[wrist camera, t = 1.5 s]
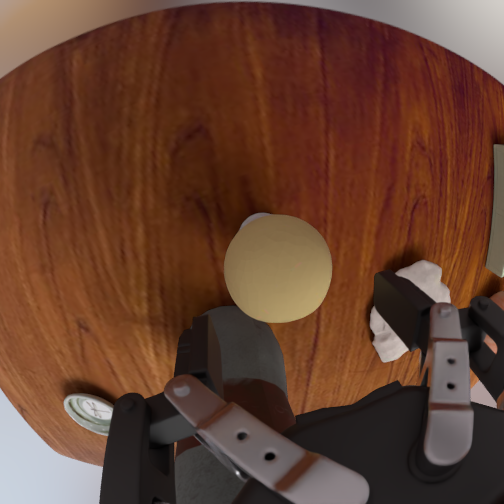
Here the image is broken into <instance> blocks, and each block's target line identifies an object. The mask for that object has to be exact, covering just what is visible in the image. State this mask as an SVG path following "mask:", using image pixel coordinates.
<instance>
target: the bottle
mask: <svg viewBox="0 0 504 504" xmlns="http://www.w3.org/2000/svg"><path fill="white" fill-rule="evenodd" d="M207 314H209V315H210V317H211V319H212V322H213V325H214V328H215V331H216V334H217V337H218V340H219V343H220V348H221V361H222V379H223V395H224V401H225V402H226V403H228V404H229V403H230V402H234V403H236V404H238V405H239V406H240V407H242V408H243V409H244V410H246V411H247V412H249V413H250V414H251V415H253V416H254V417H256V418H257V419H259V420H260V421H261V422H263V423H264V424H266V425H267V426H269V427H270V428H272V429H273V430H275V431H276V432H278V433H282V432H283V431H284V430H285V429H287V428H289V427H290V426H292V425H294V424H296V420H295V417H294V415H293V412H292V410H291V407H290V404H289V402H288V395H287V383H286V374H285V366H284V359H283V354H282V351H281V349H280V346H279V344H278V342H277V340H276V338H275V336H274V334H273V332H272V330H271V328H270V327H269V326H268V325H267V324H266V323H265V322H263V321H260V320H256V319H254V318H252V317H250V316H248V315H247V314H246V313H244V312H243V311H242V310H241V309H240V308H239V307H238V306H220V307H217V308H214V309H211V310H208V311H207V312H205V313H204V314H202V315H207ZM202 315H201V316H202ZM190 329H192V326H191V328H190ZM174 464H175V488H176V504H231V503H232V501H233V500H234V499H235V497H236V496H237V494H238V493H239V492H240V490H241V489H242V487H243V486H244V484H245V483H243V482H242V481H241V480H240V479H239V478H237V477H236V476H235V475H234V474H233V473H231V472H230V471H229V470H228V469H227V468H226V467H225V466H224V465H223V464H222V463H221V462H220V461H219V460H218V459H217V458H216V457H215V456H214V455H213V454H212V453H211V452H210V451H208V450H207V449H206V448H205V447H204V446H203V445H202V444H201V443H200V442H199V441H198V440H197V439H196V438H195V437H194V436H190V437H188V438H185V439H182V440H179V441H177V448H176V455H175V463H174Z"/></svg>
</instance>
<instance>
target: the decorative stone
mask: <svg viewBox="0 0 504 504" xmlns="http://www.w3.org/2000/svg"><path fill="white" fill-rule="evenodd" d="M395 274H396V275H398V276H402V277H404V278H407V279H409V280H410V281H412V282H413V283H414V284H415V285H416V286H418V287H419V288H420V290H422V291H424V292H425V293H426V294H427V295H428V296H429V297H431V298H432V299H433V300H434V301H435V302H436V303H438V302H447V303H450V296H449V293H450V291H449V289H448V288H447V286H446V285H445V284H443V283H441V282H440V278H441V274H442V269H441V268H440V267H439V266H438V265H437V264H434V263H432V262H429V261H426V260H421V261H417V262H416V263H414V264H413V265H411V266H410V267H405V268H403V269H400V270H398V271H397V272H396V273H395ZM370 317H371V318H370V329H372V331H373V332H374V334H375V337H374V340H373V342H372V344H373V345H374V347H375V349H376V351H377V352H378V354H379V356H380V359H381V360H382V361H383V362H389V361H392V360H395V359H398V358H399V357H400V356H401V355H402V354H403V353H405V352H406V351H408V350H409V349H408V348H407V347H406V346H405V344H404V343H403V342H402V341H401V339H400V338H399V337H398V336H397V335H396V333H395V332H394V331H393V330H392V329H391V327H390V326H389V325H388V324H387V323H386V322H385V320H384V319H383V318H382V317H381V316H380V315H379V313H378V312H377V311H376V309H375V306H374V307H373V309H372V310H371V314H370Z"/></svg>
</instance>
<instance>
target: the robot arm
mask: <svg viewBox="0 0 504 504" xmlns="http://www.w3.org/2000/svg"><path fill="white" fill-rule="evenodd" d="M373 301H374V306H375V309H376V311H377V312H378V313H379V315H380V316H381V317H382V318H383V319H384V320H385V322H386V323H387V324H388V325H389V326H390V327H391V329H392V330H393V331H394V332H395V333H396V335H397V336H398V337H399V338H400V339H401V341H402V342H403V343H404V344H405V346H406V347H407V348H408V349H409V350H410V352H411V351H414V350H416V349H418V348H420V349H421V352H420V357H419V367H418V376H417V383H416V385H409V386H402V385H401V384H400V382H399V381H398V380H397V381H395V382H392V383H390V384H388V385H385V386H383V387H380V388H378V389H376V390H374V391H373V392H371V393H370V394H368V395H367V396H365V397H364V398H362V399H361V400H359V401H358V402H356V403H354V404H352V405H347V406H338V407H329V408H321V409H318V410H315V411H311V412H308V413H304V414H300V415H296V416H295V418H296V424H294V425H292V426H290V427H289V428H287V429H285V430H284V431H283V432H282V433H278V432H276V431H275V430H273V429H272V428H270V427H269V426H267V425H266V424H264V423H263V422H261V421H260V420H259V419H257V418H256V417H254V416H253V415H251V414H250V413H249V412H247V411H246V410H244V409H243V408H242V407H240V406H239V405H238V404H236V403H234V402H230V403H229V404H228V403H226V402H225V401H224V395H223V379H222V361H221V348H220V343H219V340H218V337H217V334H216V331H215V328H214V325H213V322H212V319H211V317H210V315H209V314H207V315H202V316H197V317H193V323H192V329H187V330H184V331H183V333H182V334H181V336H180V337H179V342H178V349H177V356H176V364H175V371H174V378H172V379H171V380H169V381H168V383H167V384H166V386H165V388H164V391H163V392H162V393H160V394H157V395H154V396H152V397H149V398H146V399H144V397H143V396H142V395H140V394H138V393H127V394H125V395H123V396H121V397H120V398H119V399H118V400H117V401H116V402H115V404H114V407H113V412H112V417H111V422H110V427H109V433H108V439H107V445H106V451H105V458H104V465H103V473H102V481H101V491H100V502H99V503H100V504H176V488H175V464H174V442H177V441H179V440H182V439H185V438H188V437H190V436H194V437H195V438H196V439H197V440H198V441H199V442H200V443H201V444H202V445H203V446H204V447H205V448H206V449H207V450H208V451H210V452H211V453H212V454H213V455H214V456H215V457H216V458H217V459H218V460H219V461H220V462H221V463H222V464H223V465H224V466H225V467H226V468H227V469H228V470H229V471H230V472H231V473H233V474H234V475H235V476H236V477H237V478H239V479H240V480H241V481H242V482H243V483H245V484H244V486H243V487H242V489H241V490H240V492H239V493H238V494H237V496H236V497H235V499H234V500H233V501H232V503H231V504H504V310H503V309H502V308H500V307H499V306H498V305H497V304H496V303H495V302H493V301H492V300H491V299H489V298H487V297H484V296H476V297H474V298H472V300H471V302H470V306H469V307H468V308H463V309H457V308H456V307H455V306H454V305H452V304H450V303H447V302H438V303H436V302H435V301H434V300H433V299H432V298H431V297H429V296H428V295H427V294H426V293H425V292H424V291H422V290H420V288H419V287H418V286H416V285H415V284H414V283H413V282H412V281H410V280H409V279H407V278H404V277H402V276H398V275H396V274H395V273H394V272H393V271H392V270H390V269H388V270H385V271H382V272H378V273H376V274H375V276H374V299H373ZM486 335H488V336H489V337H490V338H491V339H492V340H493V341H494V342H495V343H496V346H497V353H496V354H495V353H494V352H493V351H492V350H491V349H490V347H489V346H488V345H487V344H486V343H485V342H484V340H485V337H486ZM470 368H471V369H472V371H473V372H474V373H475V375H476V376H477V377H478V378H479V380H480V381H481V382H482V384H483V385H484V386H485V388H486V389H487V390H488V392H489V393H490V394H491V396H492V397H493V398H494V400H495V401H496V403H497V408H493V407H489V406H486V405H482V404H479V403H475V402H471V401H470Z"/></svg>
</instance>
